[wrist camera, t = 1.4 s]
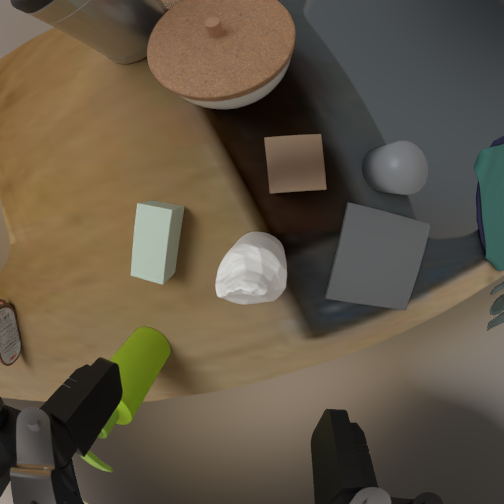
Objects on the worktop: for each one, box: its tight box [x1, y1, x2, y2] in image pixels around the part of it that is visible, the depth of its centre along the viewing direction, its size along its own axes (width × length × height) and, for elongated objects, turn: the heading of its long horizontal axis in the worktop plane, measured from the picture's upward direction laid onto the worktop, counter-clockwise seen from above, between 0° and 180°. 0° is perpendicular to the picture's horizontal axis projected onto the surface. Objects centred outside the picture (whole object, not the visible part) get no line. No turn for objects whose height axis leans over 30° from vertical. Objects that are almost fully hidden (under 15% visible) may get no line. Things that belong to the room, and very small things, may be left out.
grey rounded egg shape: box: [362, 141, 428, 195], centre depth 23 cm, size 5×5×6 cm
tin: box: [0, 299, 21, 366], centre depth 34 cm, size 15×3×8 cm, turn 164°
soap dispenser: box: [81, 327, 170, 472], centre depth 25 cm, size 6×7×20 cm
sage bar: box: [131, 200, 185, 285], centre depth 29 cm, size 8×4×4 cm, turn 168°
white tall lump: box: [215, 231, 287, 305], centre depth 24 cm, size 6×12×6 cm
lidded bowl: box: [147, 0, 296, 109], centre depth 20 cm, size 13×13×11 cm
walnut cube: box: [264, 134, 326, 193], centre depth 25 cm, size 5×5×5 cm
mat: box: [325, 202, 431, 310], centre depth 28 cm, size 11×11×1 cm
